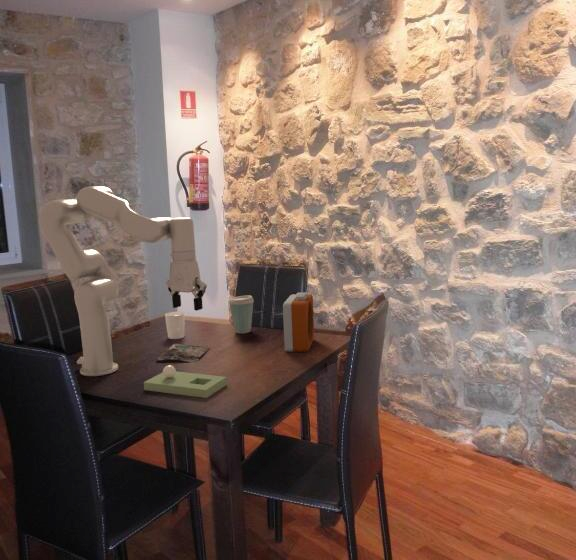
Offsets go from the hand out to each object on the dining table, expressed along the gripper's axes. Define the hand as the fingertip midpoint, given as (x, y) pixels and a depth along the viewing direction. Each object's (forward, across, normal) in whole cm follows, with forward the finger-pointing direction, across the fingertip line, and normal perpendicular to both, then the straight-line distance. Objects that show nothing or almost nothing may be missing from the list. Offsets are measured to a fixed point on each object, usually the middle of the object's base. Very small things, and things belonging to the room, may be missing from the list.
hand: (187, 308), depth 191 cm
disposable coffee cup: (+23, -22, +52) cm, 61 cm away
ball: (+18, +2, -11) cm, 21 cm away
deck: (+22, +7, -10) cm, 26 cm away
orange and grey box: (+23, +13, +45) cm, 52 cm away
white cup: (+22, -41, +32) cm, 57 cm away
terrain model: (+23, -19, +16) cm, 34 cm away
